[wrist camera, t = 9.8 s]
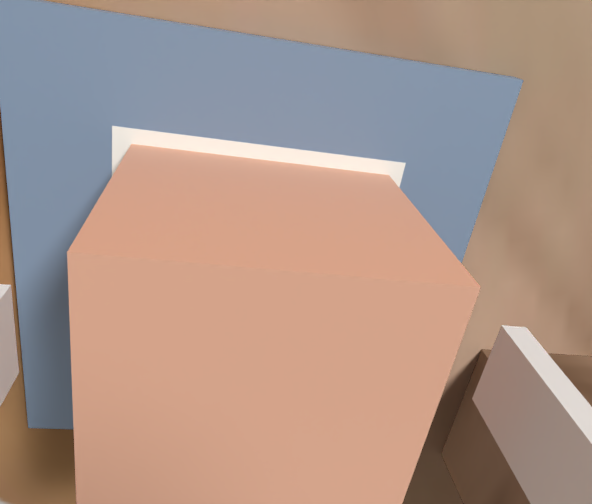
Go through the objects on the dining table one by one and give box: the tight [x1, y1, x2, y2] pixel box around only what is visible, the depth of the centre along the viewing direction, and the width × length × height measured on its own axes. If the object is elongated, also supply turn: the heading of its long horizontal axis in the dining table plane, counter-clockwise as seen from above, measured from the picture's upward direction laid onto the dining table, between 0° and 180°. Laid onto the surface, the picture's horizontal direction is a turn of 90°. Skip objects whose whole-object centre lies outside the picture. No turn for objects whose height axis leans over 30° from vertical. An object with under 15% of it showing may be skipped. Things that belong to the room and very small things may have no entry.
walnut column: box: [441, 349, 592, 504], centre depth 20 cm, size 6×6×8 cm
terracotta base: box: [67, 144, 481, 504], centre depth 15 cm, size 8×8×7 cm
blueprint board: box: [0, 0, 523, 429], centre depth 18 cm, size 15×15×1 cm
